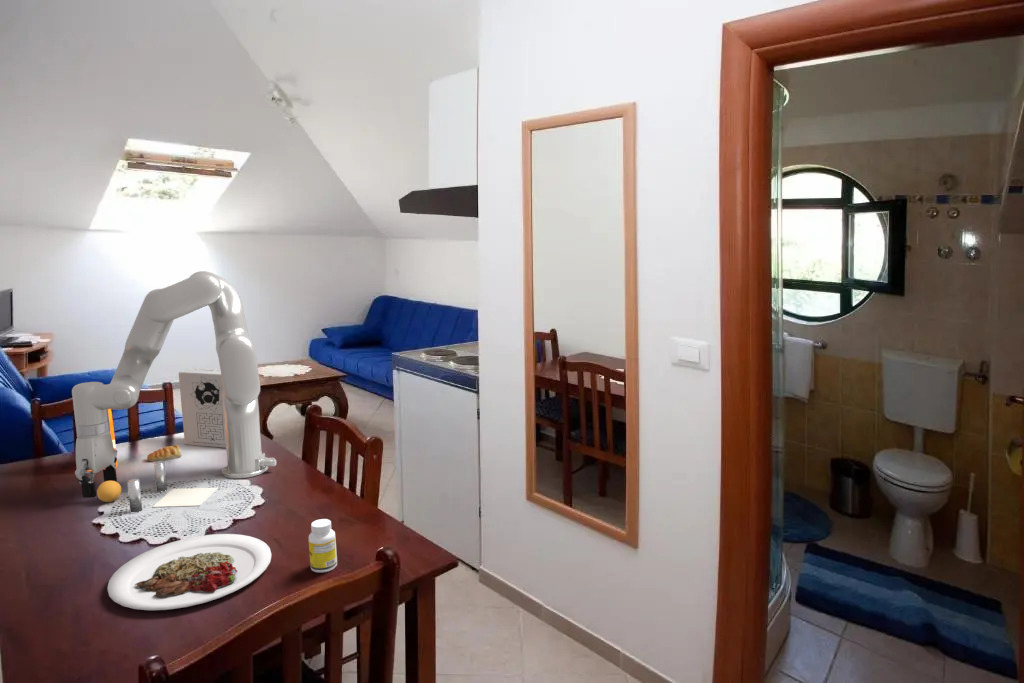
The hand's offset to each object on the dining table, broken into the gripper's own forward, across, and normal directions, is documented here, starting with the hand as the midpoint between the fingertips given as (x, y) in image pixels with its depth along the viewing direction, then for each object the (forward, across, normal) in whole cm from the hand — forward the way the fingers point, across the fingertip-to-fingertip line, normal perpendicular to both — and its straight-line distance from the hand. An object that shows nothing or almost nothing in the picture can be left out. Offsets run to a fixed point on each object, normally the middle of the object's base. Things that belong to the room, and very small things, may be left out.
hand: (100, 489), depth 174 cm
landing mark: (+1, +4, +24) cm, 25 cm away
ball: (-2, +5, +5) cm, 7 cm away
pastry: (+2, -29, +4) cm, 30 cm away
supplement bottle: (+2, +43, +70) cm, 82 cm away
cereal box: (+2, -43, +15) cm, 45 cm away
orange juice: (+2, -23, -13) cm, 26 cm away
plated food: (+2, +45, +44) cm, 62 cm away
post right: (+1, -2, +15) cm, 15 cm away
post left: (+1, +12, +15) cm, 19 cm away
